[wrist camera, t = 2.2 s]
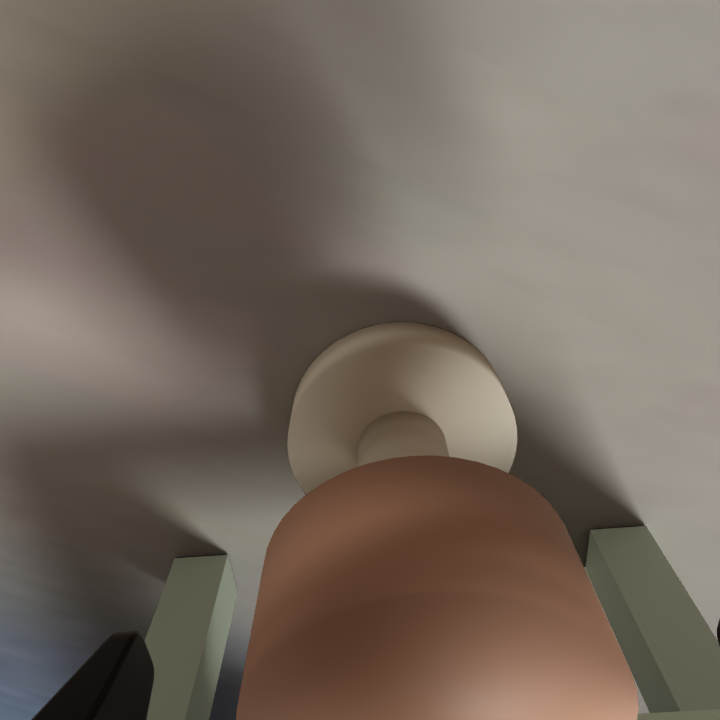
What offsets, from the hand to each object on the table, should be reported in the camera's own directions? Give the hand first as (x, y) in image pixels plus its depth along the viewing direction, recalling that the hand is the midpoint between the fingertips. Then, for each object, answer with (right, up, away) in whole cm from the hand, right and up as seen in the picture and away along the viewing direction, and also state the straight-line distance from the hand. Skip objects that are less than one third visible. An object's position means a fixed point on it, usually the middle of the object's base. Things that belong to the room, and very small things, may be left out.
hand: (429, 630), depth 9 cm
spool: (0, +3, +5) cm, 6 cm away
